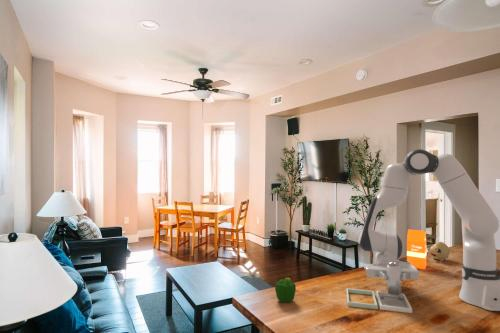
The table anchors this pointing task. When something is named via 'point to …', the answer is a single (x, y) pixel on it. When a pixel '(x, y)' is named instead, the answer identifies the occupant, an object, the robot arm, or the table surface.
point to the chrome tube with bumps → (394, 278)
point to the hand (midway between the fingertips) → (394, 278)
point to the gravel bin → (393, 302)
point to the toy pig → (439, 251)
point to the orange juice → (416, 248)
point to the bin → (362, 305)
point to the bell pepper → (285, 290)
